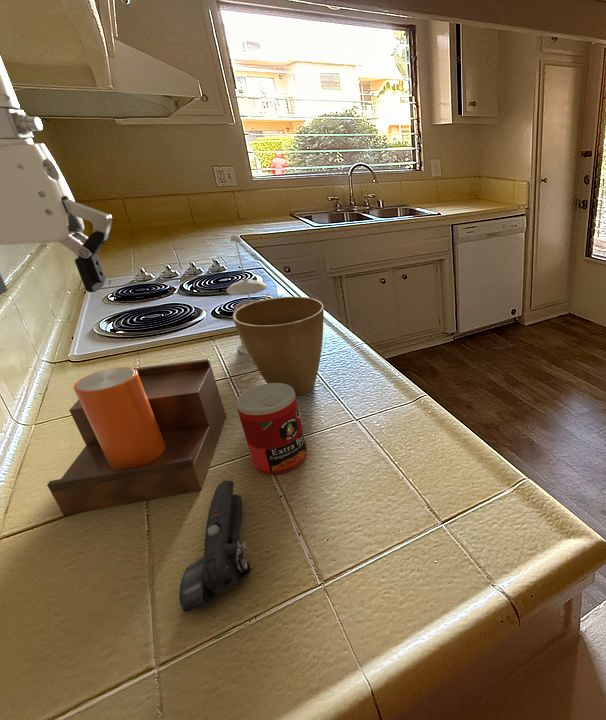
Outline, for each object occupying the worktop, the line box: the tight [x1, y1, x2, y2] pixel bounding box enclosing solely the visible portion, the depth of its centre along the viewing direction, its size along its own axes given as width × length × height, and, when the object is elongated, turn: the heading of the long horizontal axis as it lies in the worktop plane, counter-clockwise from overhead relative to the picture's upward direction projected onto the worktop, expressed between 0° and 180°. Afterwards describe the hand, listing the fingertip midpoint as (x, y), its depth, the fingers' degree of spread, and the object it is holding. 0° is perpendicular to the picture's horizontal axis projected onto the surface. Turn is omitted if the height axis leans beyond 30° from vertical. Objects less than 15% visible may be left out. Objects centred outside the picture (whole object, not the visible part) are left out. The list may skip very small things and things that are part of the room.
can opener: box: [178, 480, 252, 613], centre depth 53 cm, size 18×7×6 cm, turn 20°
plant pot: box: [232, 296, 324, 397], centre depth 85 cm, size 15×15×16 cm
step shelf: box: [46, 358, 227, 516], centre depth 67 cm, size 16×19×11 cm
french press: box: [225, 234, 276, 355], centre depth 101 cm, size 10×12×25 cm
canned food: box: [235, 383, 308, 475], centre depth 67 cm, size 8×8×11 cm
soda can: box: [73, 366, 166, 469], centre depth 62 cm, size 7×7×12 cm
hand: (47, 292), depth 54 cm, fingers open, 9 cm apart
